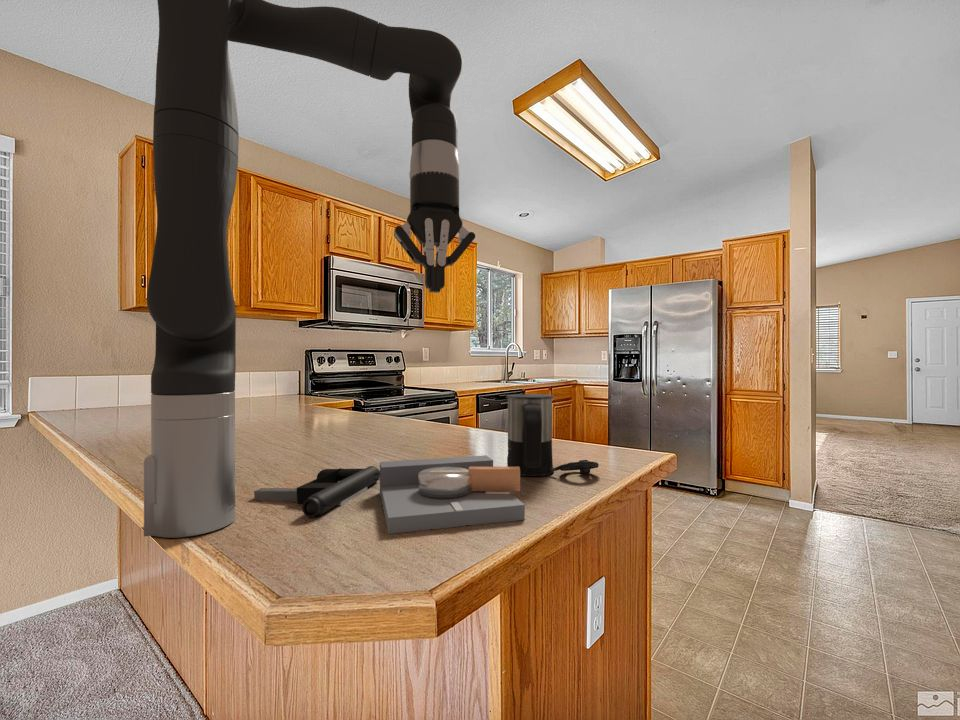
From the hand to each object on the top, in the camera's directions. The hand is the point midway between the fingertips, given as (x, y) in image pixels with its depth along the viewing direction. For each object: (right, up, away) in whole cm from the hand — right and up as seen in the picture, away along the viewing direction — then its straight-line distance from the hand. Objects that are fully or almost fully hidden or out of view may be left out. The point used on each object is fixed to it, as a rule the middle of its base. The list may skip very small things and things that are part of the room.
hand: (434, 291), depth 69 cm
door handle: (-19, -33, +3) cm, 38 cm away
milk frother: (+20, -32, +16) cm, 41 cm away
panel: (+2, -32, -3) cm, 32 cm away
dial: (+5, -30, -3) cm, 30 cm away
